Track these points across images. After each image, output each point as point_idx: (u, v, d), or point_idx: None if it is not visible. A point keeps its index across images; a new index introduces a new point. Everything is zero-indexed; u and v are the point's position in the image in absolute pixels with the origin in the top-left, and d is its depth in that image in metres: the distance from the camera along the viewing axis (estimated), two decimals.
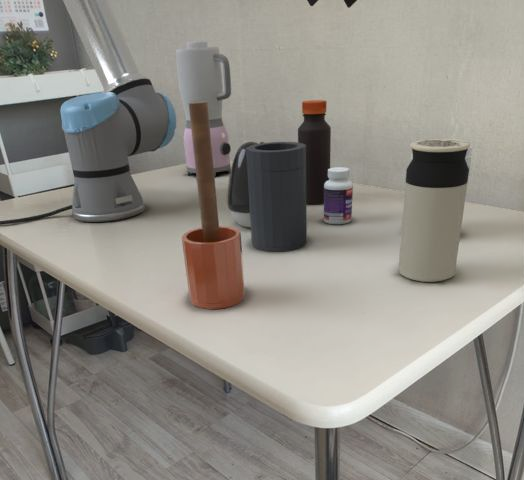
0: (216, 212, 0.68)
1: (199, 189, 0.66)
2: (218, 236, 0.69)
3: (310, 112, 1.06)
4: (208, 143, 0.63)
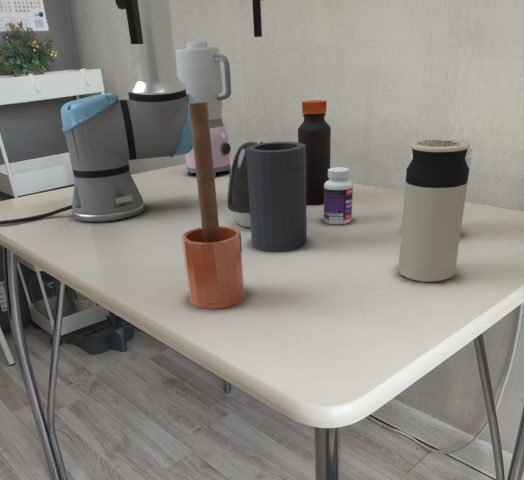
0: (216, 212, 0.68)
1: (199, 189, 0.66)
2: (218, 236, 0.69)
3: (310, 112, 1.06)
4: (208, 143, 0.63)
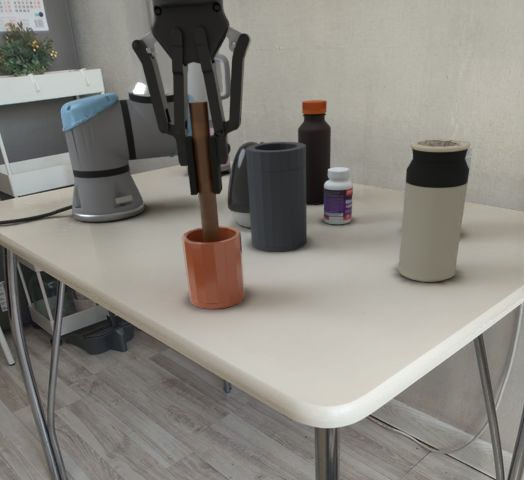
0: (216, 212, 0.68)
1: (199, 189, 0.66)
2: (218, 236, 0.69)
3: (310, 112, 1.06)
4: (208, 143, 0.63)
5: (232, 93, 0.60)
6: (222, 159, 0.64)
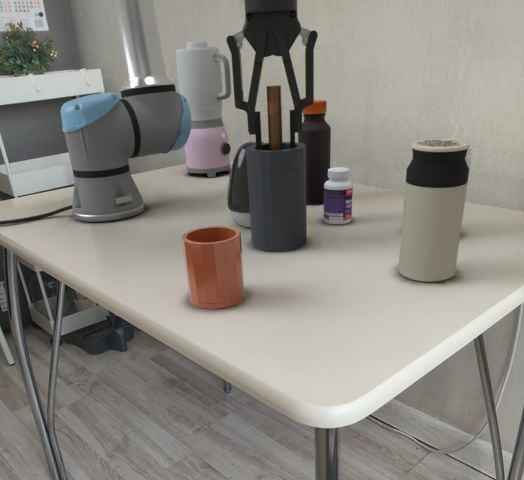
0: None
1: None
2: None
3: (310, 112, 1.06)
4: (280, 117, 0.83)
5: (307, 77, 0.79)
6: (298, 128, 0.83)
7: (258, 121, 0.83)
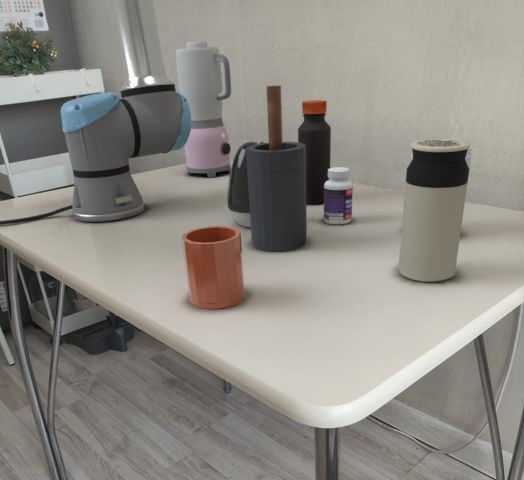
0: None
1: None
2: None
3: (310, 112, 1.06)
4: (280, 117, 0.83)
5: None
6: None
7: None
